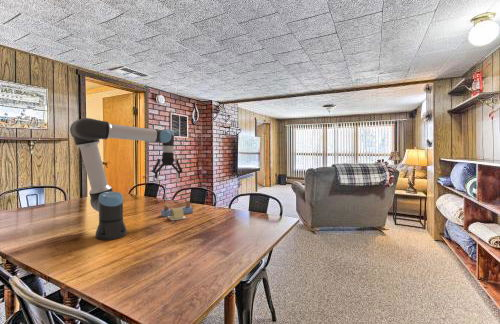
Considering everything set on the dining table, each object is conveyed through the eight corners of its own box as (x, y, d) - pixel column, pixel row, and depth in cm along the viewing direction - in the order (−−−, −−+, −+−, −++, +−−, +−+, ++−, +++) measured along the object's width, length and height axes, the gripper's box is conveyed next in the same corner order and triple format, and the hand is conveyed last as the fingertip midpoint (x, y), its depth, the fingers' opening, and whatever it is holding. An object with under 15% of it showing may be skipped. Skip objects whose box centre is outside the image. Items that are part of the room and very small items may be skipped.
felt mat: (186, 218, 176) (186, 217, 176) (171, 220, 170) (171, 219, 170) (181, 215, 183) (181, 214, 183) (167, 217, 177) (167, 216, 177)
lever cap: (179, 215, 181) (179, 207, 181) (183, 217, 175) (183, 209, 175) (170, 216, 178) (170, 208, 177) (174, 218, 172) (174, 210, 171)
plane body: (192, 212, 191) (192, 200, 191) (163, 216, 178) (163, 204, 178) (190, 211, 195) (190, 199, 195) (161, 215, 183) (161, 202, 182)
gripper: (183, 152, 185) (183, 181, 186) (147, 151, 171) (147, 182, 172) (187, 152, 179) (186, 182, 179) (150, 151, 165) (149, 184, 165)
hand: (167, 182), depth 176 cm, fingers open, 13 cm apart
